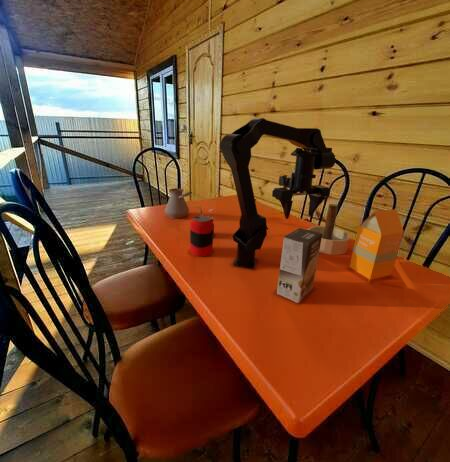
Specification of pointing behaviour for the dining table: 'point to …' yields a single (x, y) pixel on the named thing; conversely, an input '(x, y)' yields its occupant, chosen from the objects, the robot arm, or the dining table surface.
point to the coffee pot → (177, 204)
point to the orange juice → (377, 244)
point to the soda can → (201, 236)
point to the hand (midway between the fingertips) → (298, 217)
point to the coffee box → (298, 264)
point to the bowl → (333, 241)
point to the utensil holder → (209, 217)
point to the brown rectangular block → (330, 221)
